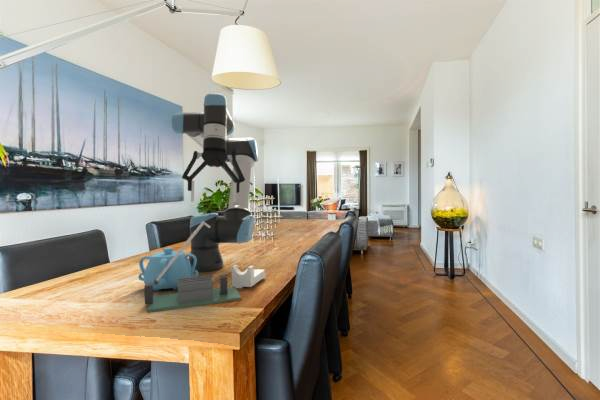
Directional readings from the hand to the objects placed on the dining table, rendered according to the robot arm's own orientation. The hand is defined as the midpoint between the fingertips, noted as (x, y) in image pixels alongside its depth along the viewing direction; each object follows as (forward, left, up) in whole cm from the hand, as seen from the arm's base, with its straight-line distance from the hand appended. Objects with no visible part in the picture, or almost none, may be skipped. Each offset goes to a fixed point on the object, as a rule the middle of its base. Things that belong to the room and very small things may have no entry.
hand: (213, 201), depth 108 cm
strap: (+7, -9, -16) cm, 20 cm away
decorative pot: (-11, -15, -30) cm, 35 cm away
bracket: (-4, +12, -30) cm, 33 cm away
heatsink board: (+7, -7, -30) cm, 31 cm away
